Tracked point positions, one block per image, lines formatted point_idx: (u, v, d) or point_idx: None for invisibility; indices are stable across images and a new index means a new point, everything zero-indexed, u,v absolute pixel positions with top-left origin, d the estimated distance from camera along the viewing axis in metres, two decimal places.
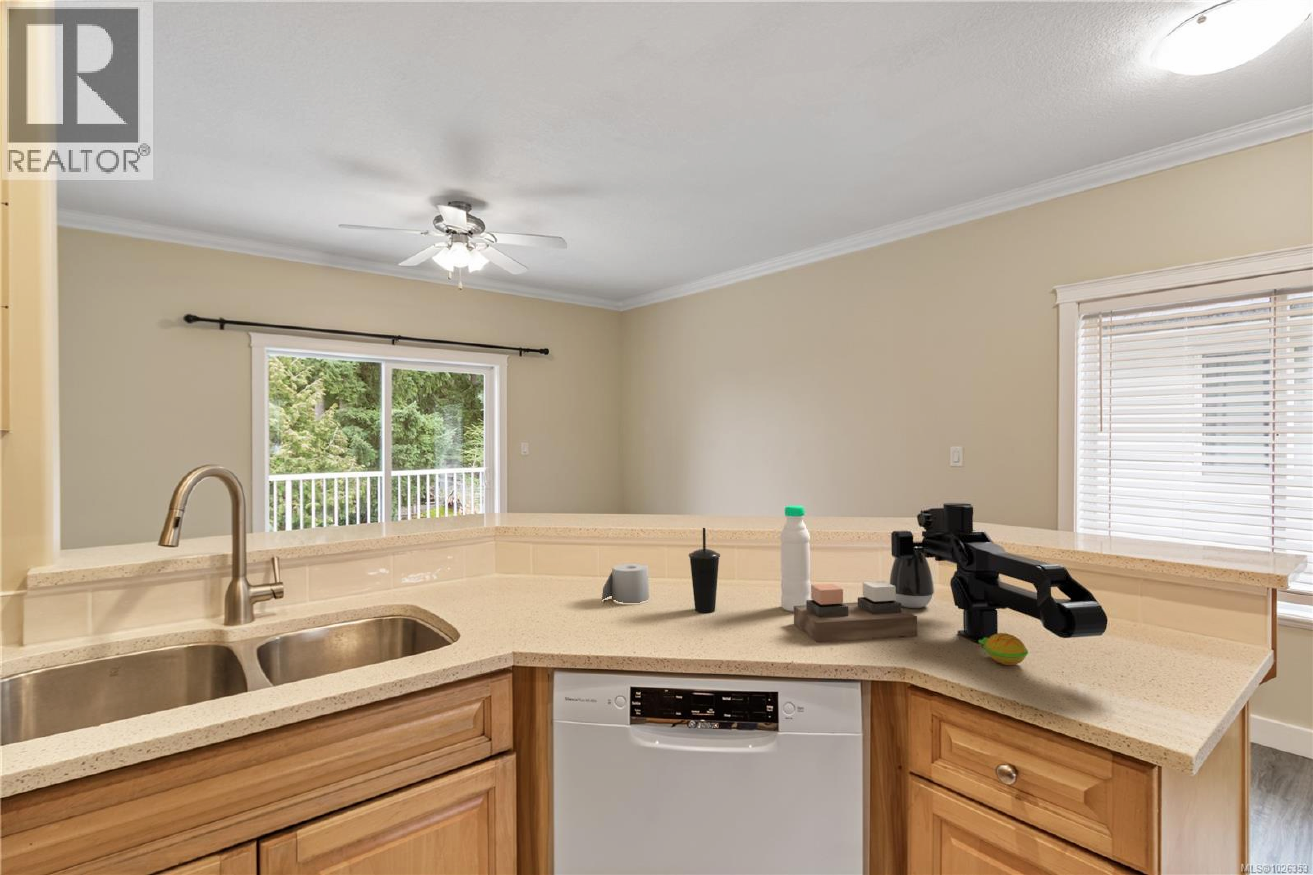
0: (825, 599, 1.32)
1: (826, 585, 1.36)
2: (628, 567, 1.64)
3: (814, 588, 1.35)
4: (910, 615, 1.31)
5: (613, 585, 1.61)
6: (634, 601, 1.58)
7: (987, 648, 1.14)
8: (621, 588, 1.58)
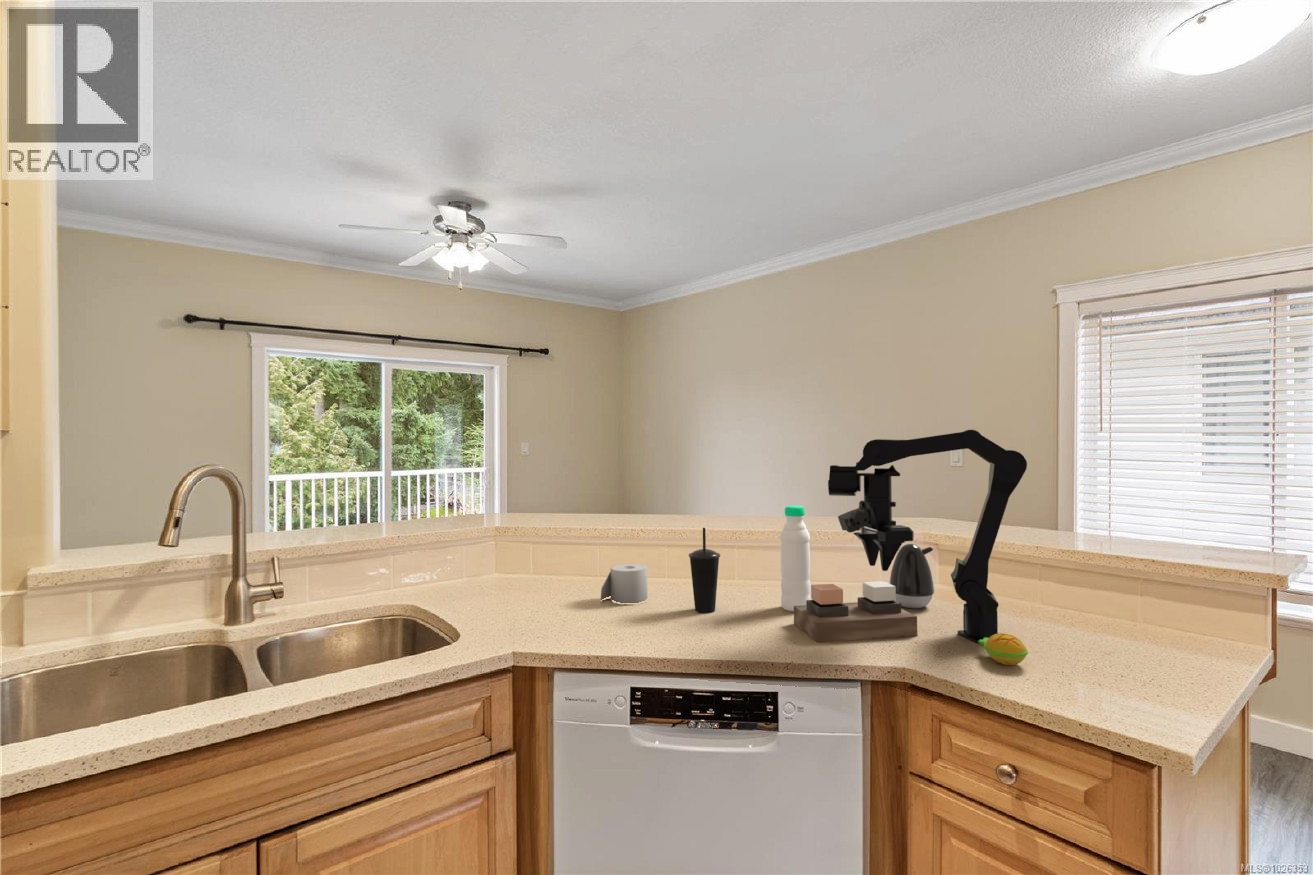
0: (825, 599, 1.32)
1: (826, 585, 1.36)
2: (627, 567, 1.64)
3: (814, 588, 1.35)
4: (910, 615, 1.31)
5: (612, 585, 1.61)
6: (633, 601, 1.58)
7: (987, 648, 1.14)
8: (619, 588, 1.58)
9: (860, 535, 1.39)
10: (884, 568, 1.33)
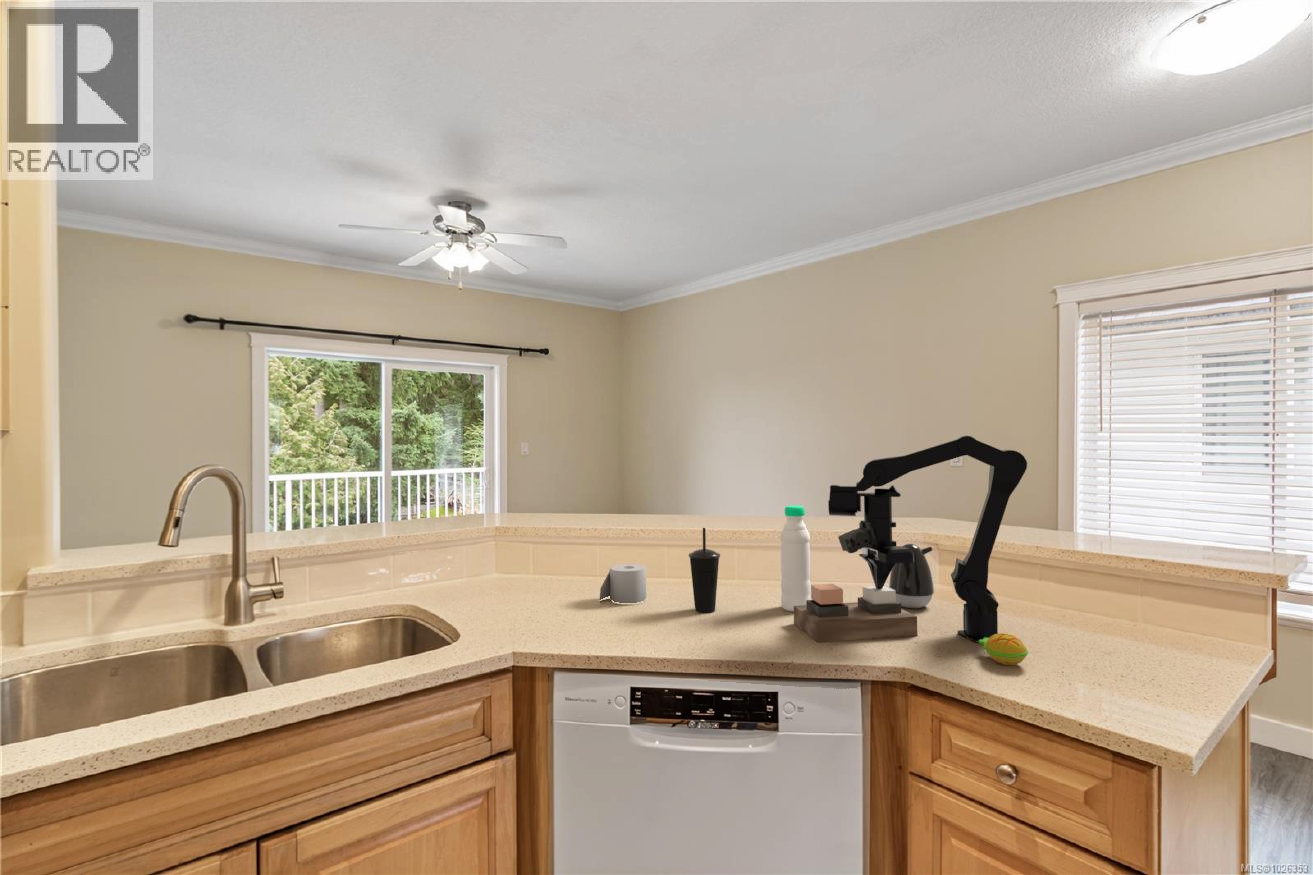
0: (825, 599, 1.32)
1: (826, 585, 1.36)
2: (626, 567, 1.63)
3: (814, 588, 1.35)
4: (910, 615, 1.31)
5: (611, 585, 1.61)
6: (632, 601, 1.58)
7: (987, 648, 1.14)
8: (618, 588, 1.58)
9: (866, 557, 1.37)
10: (879, 586, 1.36)
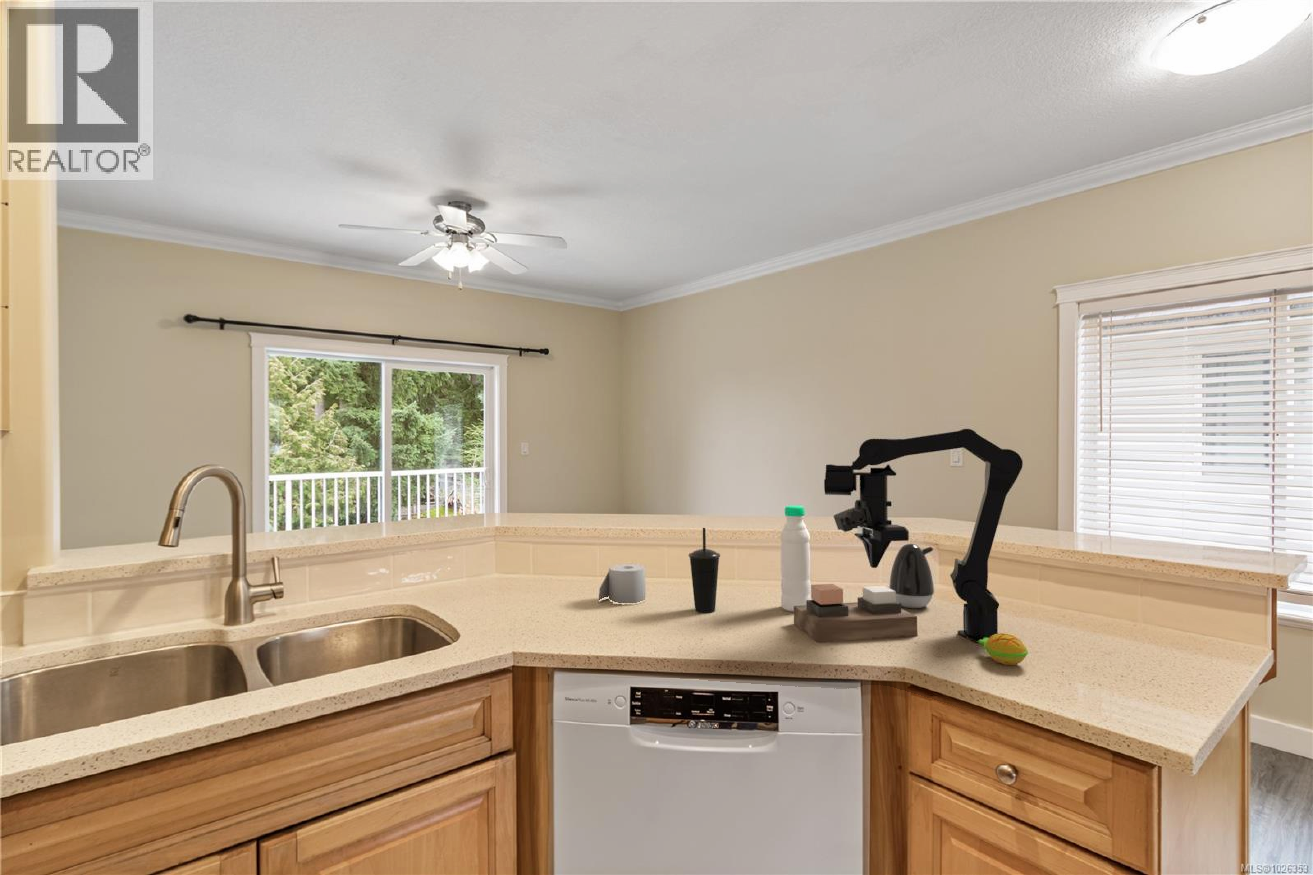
0: (825, 599, 1.32)
1: (826, 585, 1.36)
2: (625, 567, 1.63)
3: (814, 588, 1.35)
4: (910, 615, 1.31)
5: (610, 585, 1.61)
6: (631, 601, 1.58)
7: (987, 648, 1.14)
8: (618, 588, 1.58)
9: (861, 536, 1.36)
10: (874, 565, 1.36)
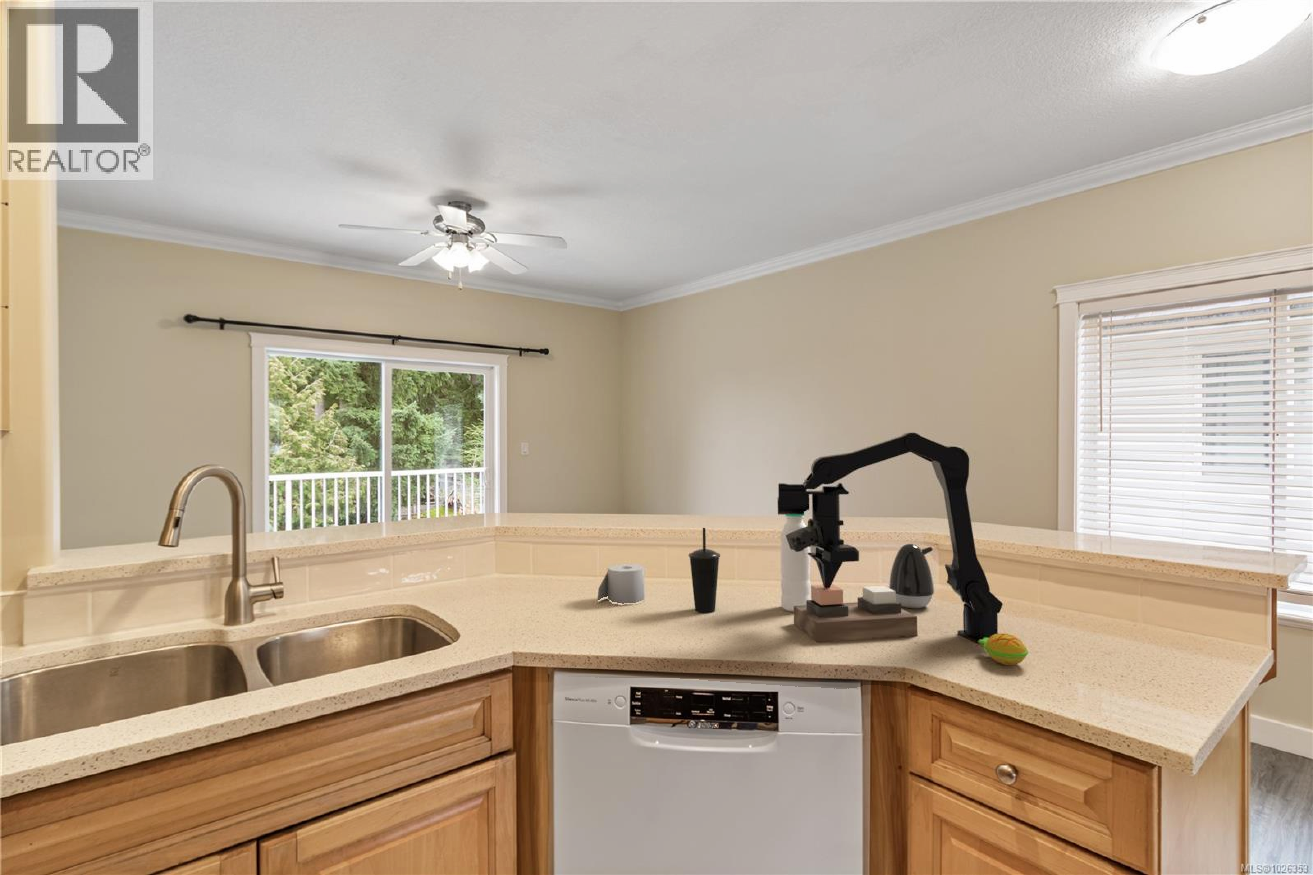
0: (825, 600, 1.32)
1: None
2: (624, 567, 1.63)
3: (814, 589, 1.35)
4: (910, 615, 1.31)
5: (609, 585, 1.60)
6: (630, 601, 1.57)
7: (987, 648, 1.14)
8: (616, 588, 1.58)
9: (814, 556, 1.35)
10: (826, 585, 1.34)
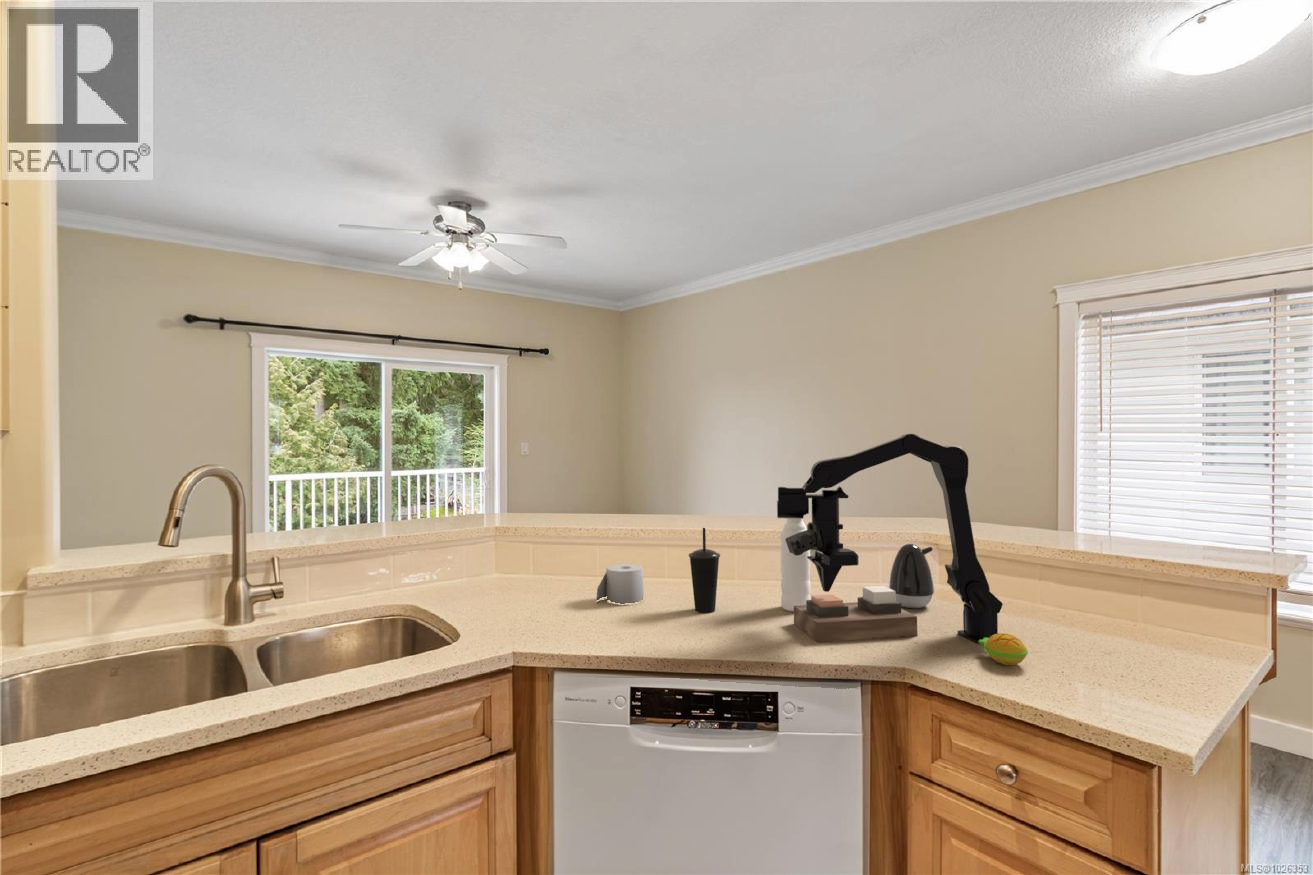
0: None
1: (826, 596, 1.36)
2: (623, 567, 1.63)
3: (814, 599, 1.35)
4: (910, 615, 1.31)
5: (607, 585, 1.60)
6: (628, 601, 1.57)
7: (987, 648, 1.14)
8: (615, 588, 1.58)
9: (813, 559, 1.35)
10: (826, 589, 1.34)
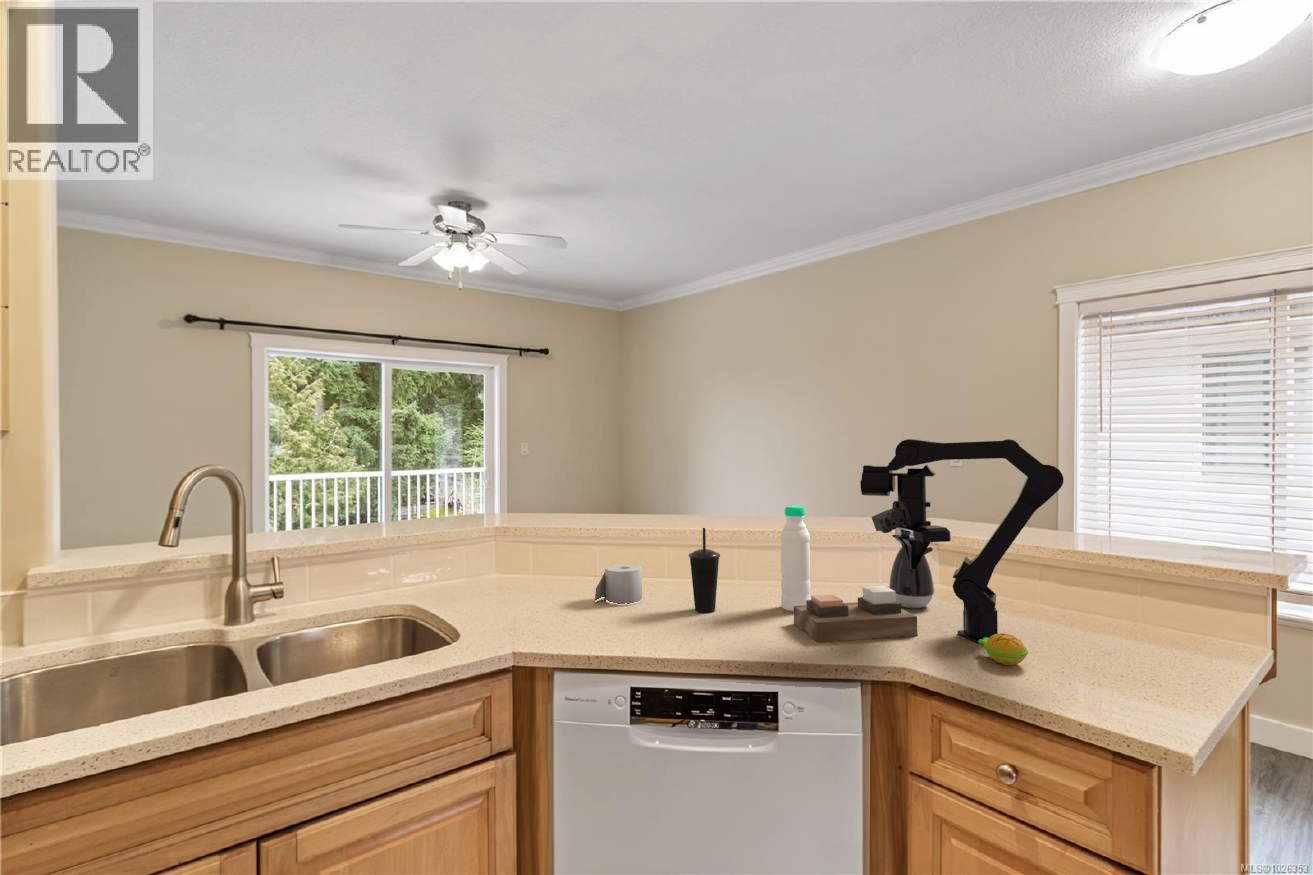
0: None
1: (826, 596, 1.36)
2: (621, 568, 1.63)
3: (814, 599, 1.35)
4: (910, 615, 1.31)
5: (606, 586, 1.60)
6: (627, 602, 1.57)
7: (987, 648, 1.14)
8: (614, 588, 1.58)
9: (900, 537, 1.36)
10: (913, 566, 1.35)
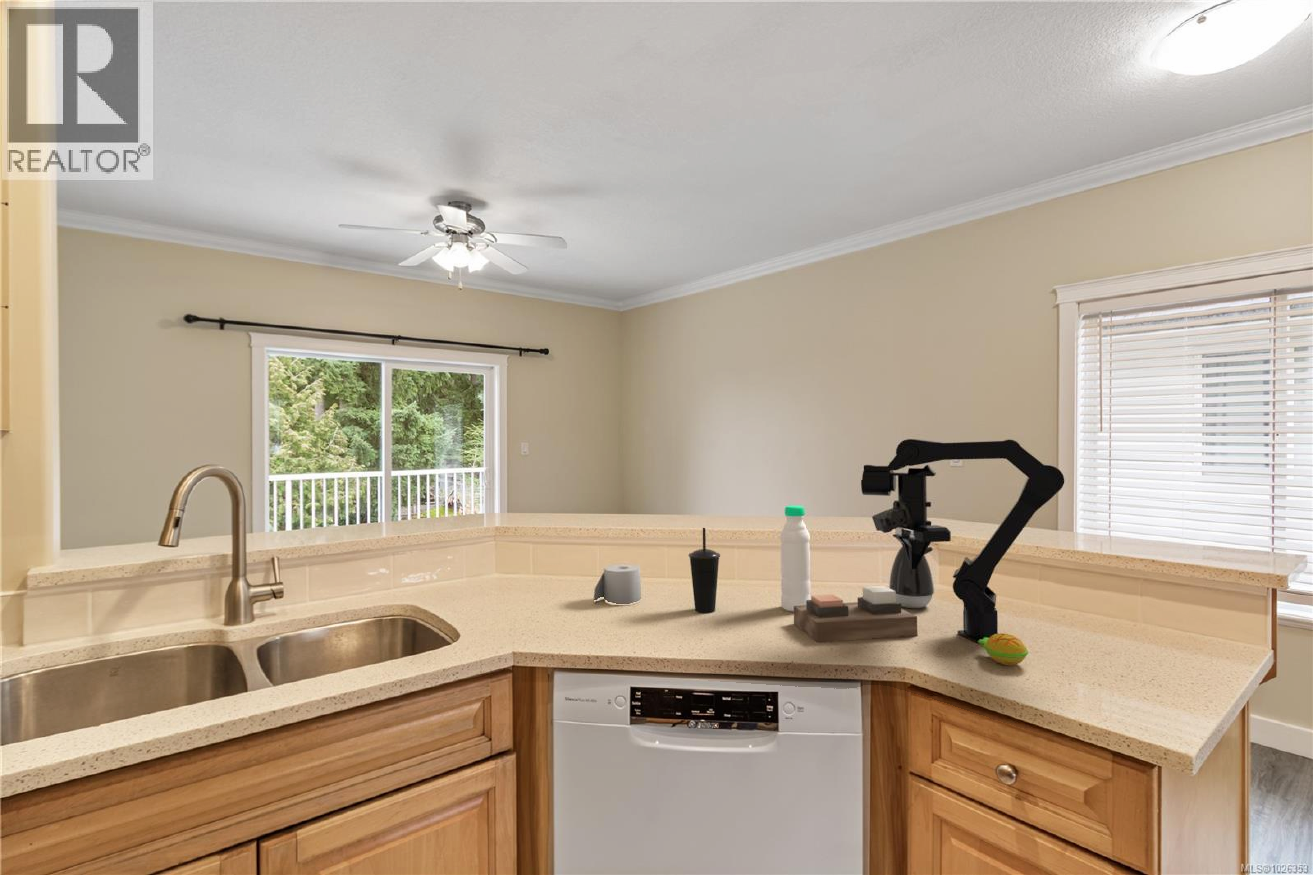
0: None
1: (826, 596, 1.36)
2: (620, 568, 1.63)
3: (814, 599, 1.35)
4: (910, 615, 1.31)
5: (605, 586, 1.60)
6: (626, 602, 1.57)
7: (987, 648, 1.14)
8: (613, 588, 1.58)
9: (900, 537, 1.36)
10: (913, 566, 1.35)
